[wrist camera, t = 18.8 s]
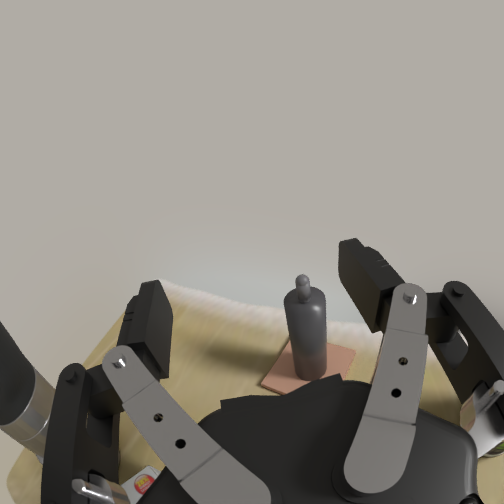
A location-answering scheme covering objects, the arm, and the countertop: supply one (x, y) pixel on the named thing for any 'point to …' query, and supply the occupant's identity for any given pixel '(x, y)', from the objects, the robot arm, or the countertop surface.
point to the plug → (307, 329)
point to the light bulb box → (140, 483)
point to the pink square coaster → (287, 380)
